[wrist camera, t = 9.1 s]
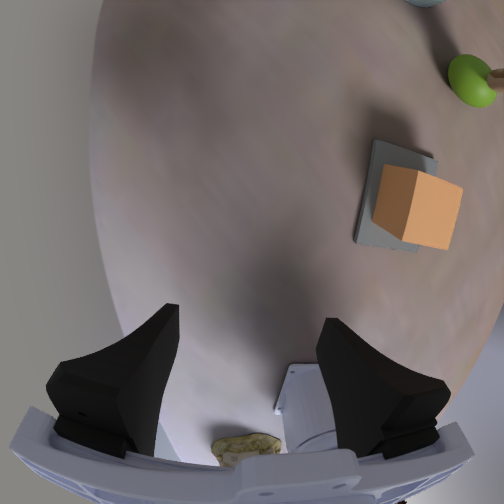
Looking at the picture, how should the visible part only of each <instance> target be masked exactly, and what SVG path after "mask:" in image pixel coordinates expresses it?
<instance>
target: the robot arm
mask: <svg viewBox="0 0 504 504" xmlns="http://www.w3.org/2000/svg"><path fill="white" fill-rule="evenodd" d="M179 338H180V335H179V305H177V304H169V303H166V304H165V305H164V306H163V307H162V308H161V309H160V310H158V311H157V312H156V313H155V314H154V315H153V316H152V317H151V318H150V319H148V320H147V321H146V322H145V323H144V324H143V325H141V326H140V327H139V328H137V329H136V330H135V331H133V332H132V333H131V334H129V335H128V336H126V337H125V338H123V339H121V340H120V341H118V342H116V343H114V344H112V345H110V346H108V347H106V348H104V349H102V350H100V351H97V352H95V353H92V354H89V355H87V356H83V357H80V358H76V359H72V360H68V361H63V362H60V364H59V365H58V367H57V368H56V369H55V371H54V373H53V374H52V376H51V377H50V379H49V381H48V382H47V384H46V391H47V393H48V395H49V398H50V399H51V401H52V403H53V404H54V406H55V408H56V409H57V411H58V413H59V414H60V415H59V417H58V419H57V420H56V419H55V418H53V417H52V416H51V415H49V414H47V413H45V412H43V411H40V410H39V409H36V408H35V407H33V406H30V407H29V409H28V411H27V413H26V414H25V416H24V418H23V420H22V422H21V424H20V426H19V427H18V429H17V431H16V433H15V435H14V437H13V439H12V441H11V444H10V445H9V448H10V450H11V451H12V452H14V454H16V456H17V457H19V458H20V459H21V460H22V461H23V462H24V463H25V464H26V465H27V466H28V467H29V468H31V469H32V470H33V471H34V472H35V473H36V474H38V475H40V476H41V477H43V478H45V479H47V480H49V481H50V482H52V483H54V484H56V485H58V486H60V487H62V488H64V489H66V490H68V491H70V492H72V493H75V494H77V495H79V496H81V497H83V498H85V499H88V500H90V501H92V502H95V503H97V504H395V503H397V502H400V501H402V500H404V499H406V498H409V497H411V496H413V495H415V494H418V493H419V492H422V491H424V490H426V489H428V488H430V487H432V486H434V485H436V484H438V483H440V482H442V481H443V480H445V479H447V478H448V477H449V476H451V475H452V474H453V473H455V472H456V471H457V470H458V469H460V468H461V467H462V466H464V465H465V464H466V463H467V462H468V461H469V460H471V459H472V458H473V457H474V456H475V454H474V452H473V450H472V448H471V446H470V444H469V443H468V441H467V439H466V437H465V435H464V434H463V432H462V430H461V428H460V427H459V425H458V423H457V422H453V423H451V424H448V425H446V426H443V427H441V428H440V429H438V430H436V428H435V426H436V425H437V421H436V419H435V417H436V416H437V415H438V414H439V413H440V411H441V410H442V409H443V408H444V407H445V405H446V404H447V402H448V401H449V398H450V396H451V392H450V390H449V388H448V387H447V385H446V384H445V382H444V381H443V380H440V379H436V378H432V377H429V376H426V375H423V374H420V373H417V372H415V371H412V370H410V369H408V368H406V367H404V366H402V365H400V364H398V363H396V362H394V361H393V360H391V359H389V358H388V357H386V356H384V355H383V354H381V353H380V352H379V351H377V350H376V349H374V348H373V347H372V346H370V345H369V344H368V343H367V342H365V341H364V340H363V339H362V338H361V337H359V336H358V335H357V334H356V333H355V332H354V331H352V330H351V329H350V328H349V327H348V326H347V325H345V324H344V323H343V322H342V321H340V320H339V319H338V318H326V320H325V323H324V326H323V329H322V332H321V335H320V338H319V341H318V344H317V346H316V353H317V359H318V364H291V365H290V366H289V367H288V371H287V374H286V377H285V380H284V383H283V386H282V389H281V392H280V395H279V398H278V401H277V404H276V407H275V410H274V413H275V414H276V415H282V419H283V425H284V432H285V439H286V446H287V450H288V453H286V454H266V455H256V456H252V457H249V458H246V459H243V460H242V461H241V462H240V463H239V464H238V465H236V467H220V466H208V465H199V464H191V463H184V462H177V461H171V460H165V459H160V458H155V457H154V449H155V440H156V432H157V425H158V419H159V413H160V408H161V403H162V397H163V394H164V390H165V387H166V384H167V381H168V378H169V375H170V372H171V369H172V366H173V363H174V360H175V357H176V353H177V348H178V343H179Z"/></svg>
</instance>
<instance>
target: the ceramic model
mask: <svg viewBox="0 0 504 504" xmlns="http://www.w3.org/2000/svg"><path fill="white" fill-rule="evenodd" d="M280 451H281V441H279V440H278V439H276V438H273V437H271V436H269V435H265V434H251V435H247V436H241V437H232V438H223V439H220V440H218V441H217V442H215V444H214V445H213V447H212V453H213V454H214V456H215V457H216V458H217V460H218V462H219V464H220V467H236V465H238V464H239V463H240V462H241V461H242V460H243V459H246V458H249V457H252V456H256V455H266V454H278V453H279V452H280Z"/></svg>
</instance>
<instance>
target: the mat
mask: <svg viewBox="0 0 504 504" xmlns="http://www.w3.org/2000/svg"><path fill="white" fill-rule="evenodd" d="M437 162H438V161H436V160H434V159H431V158H429V157H426V156H424V155H421V154H419V153H416V152H413V151H411V150H408V149H405V148H402V147H399V146H396V145H393V144H390V143H387V142H384V141H381V140H378V139H373V146H372V152H371V159H370V165H369V171H368V176H367V182H366V187H365V192H364V197H363V202H362V207H361V211H360V216H359V220H358V225H357V229H356V233H355V237H354V242H355V243H356V244H362V245H369V246H376V247H383V248H389V249H396V250H403V251H409V252H416V253H417V250H418V247H419V244H414V243H409V242H404V241H401V240H399V239H398V238H396V237H395V236H393V235H392V234H390V233H389V232H387V231H386V230H384V229H383V228H381V227H379V226H378V225H376V224H375V223H373V222H372V218H373V214H374V210H375V206H376V201H377V197H378V192H379V187H380V182H381V177H382V172H383V166H384V164H387V165H392V166H398V167H403V168H409V169H414V170H419V171H421V172H424V173H427V174H429V175H432V176H434V177H435V175H436V169H437Z"/></svg>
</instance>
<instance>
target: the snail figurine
mask: <svg viewBox="0 0 504 504" xmlns="http://www.w3.org/2000/svg"><path fill="white" fill-rule="evenodd" d="M448 79H449V83H450V85H451V88H452V89H453V91H454V93H455V94H456V95H457V96H458V97H459V98H460V99H461V100H462V101H463V102H465V103H466V104H468V105H470V106H473V107H478V108H481V107H486V106H488V105H490V104H491V103H492V102H493V101H494V100H495V98H496V95H497V92H500V93H504V69H496V70H491V69H490V67H489V66H488V65H487V64H486V63H485V62H484V61H482V60H481V59H479V58H478V57H476V56H473V55H468V54H463V55H459V56H457V57H455V58H454V59H453V60H452V61H451V63H450V65H449V68H448Z"/></svg>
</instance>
